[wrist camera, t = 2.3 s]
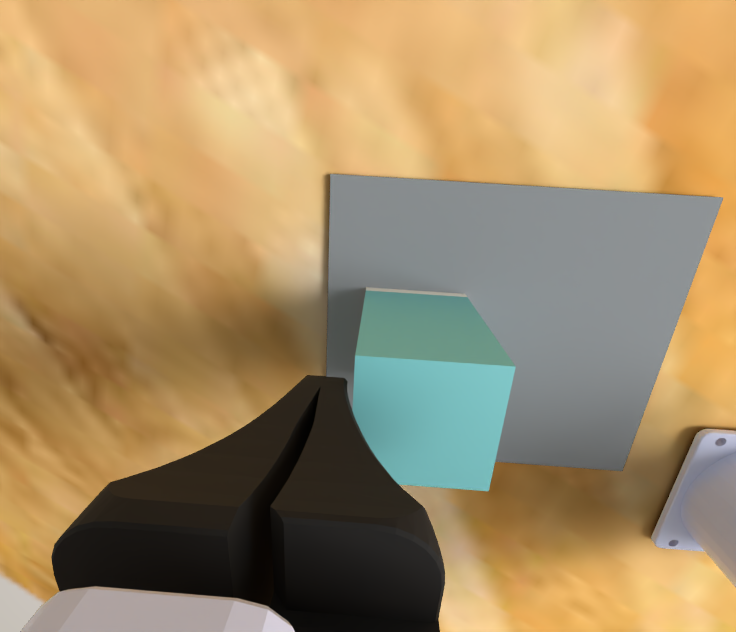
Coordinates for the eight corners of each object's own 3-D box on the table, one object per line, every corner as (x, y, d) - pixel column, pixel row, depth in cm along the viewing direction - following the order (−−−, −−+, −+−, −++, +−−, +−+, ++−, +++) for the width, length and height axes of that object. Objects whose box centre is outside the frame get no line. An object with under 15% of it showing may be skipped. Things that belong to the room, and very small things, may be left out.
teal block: (465, 293, 17) (515, 366, 10) (451, 380, 19) (488, 491, 12) (366, 287, 17) (355, 355, 11) (361, 374, 19) (348, 480, 12)
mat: (717, 197, 15) (723, 197, 15) (619, 467, 20) (622, 470, 20) (331, 173, 16) (330, 174, 15) (325, 445, 21) (324, 449, 20)
